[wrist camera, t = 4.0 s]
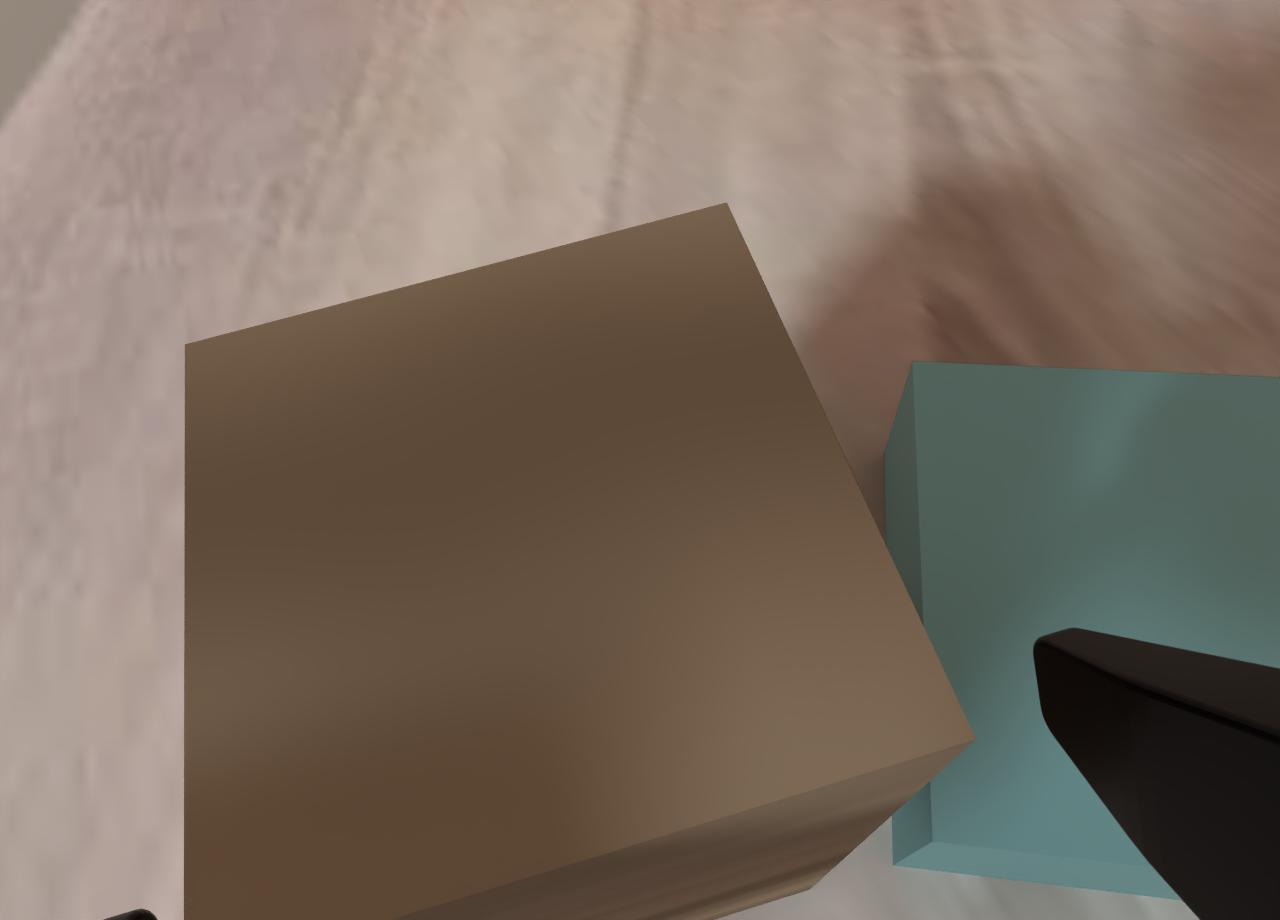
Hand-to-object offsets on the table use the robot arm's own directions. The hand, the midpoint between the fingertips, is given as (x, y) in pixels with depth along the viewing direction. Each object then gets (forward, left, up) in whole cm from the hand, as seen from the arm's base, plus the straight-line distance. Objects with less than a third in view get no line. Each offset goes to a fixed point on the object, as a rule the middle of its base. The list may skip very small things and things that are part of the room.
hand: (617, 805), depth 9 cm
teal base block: (-5, -9, -9) cm, 14 cm away
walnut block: (+1, -1, -9) cm, 9 cm away
